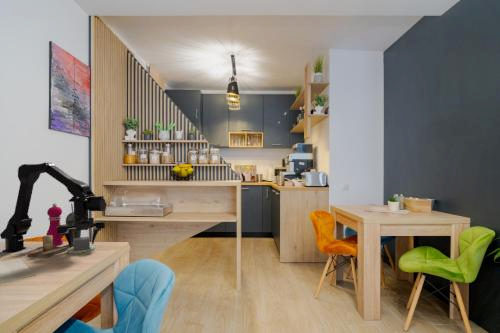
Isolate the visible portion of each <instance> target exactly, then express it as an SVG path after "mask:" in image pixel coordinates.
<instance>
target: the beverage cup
mask: <svg viewBox="0 0 500 333" xmlns="http://www.w3.org/2000/svg"><path fill="white" fill-rule="evenodd" d="M70 206H71V207H70V208H71V212H70V213H68V215H67V216H66V217H65V224H67V226H74V205H73V202H71V203H70ZM81 234H82V230H80V231H77V230H76V229H75V230H69V236H70V241H71V246H74V244H73V238H81Z"/></svg>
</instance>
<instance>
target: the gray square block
mask: <svg viewBox="0 0 500 333" xmlns="http://www.w3.org/2000/svg"><path fill="white" fill-rule="evenodd" d="M73 244H74V245H73V248H74V251H80V250H87V249H90V245H91V241H90V237H89V236H82V237H81V238H73Z"/></svg>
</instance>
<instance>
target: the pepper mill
mask: <svg viewBox="0 0 500 333" xmlns="http://www.w3.org/2000/svg"><path fill="white" fill-rule="evenodd" d="M46 214H47V216H48V221H49V226H48V229H47V232H46V235H45V236H47V235H53V247H59V246H61V245H64V244H63V243H64V240H63V237H65V236H64V235H61V233H59V234H57V226H58V225H61V219H62V216H61V215H62V214H63V210H62V208H61V207H59V206H58V205H57V203H53V204H52V206H51V207H49V208H48V209H47V212H46Z"/></svg>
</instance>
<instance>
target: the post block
mask: <svg viewBox="0 0 500 333" xmlns="http://www.w3.org/2000/svg"><path fill="white" fill-rule="evenodd" d="M63 252H68V247H67V246H53V235H47V236H46V235H43V236H42V248H38V249H36V250H32V251H29V252H27V257H34V258H50V257H53V256H55V255H58V254H62V253H63Z"/></svg>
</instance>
